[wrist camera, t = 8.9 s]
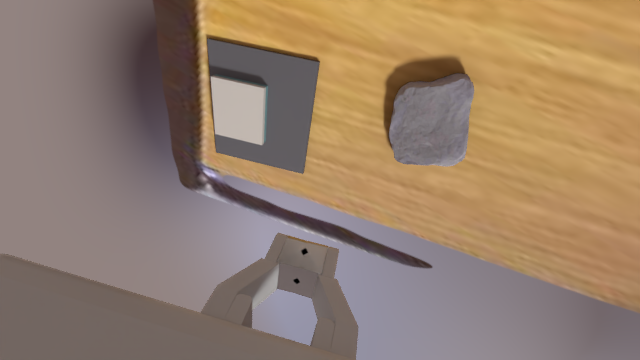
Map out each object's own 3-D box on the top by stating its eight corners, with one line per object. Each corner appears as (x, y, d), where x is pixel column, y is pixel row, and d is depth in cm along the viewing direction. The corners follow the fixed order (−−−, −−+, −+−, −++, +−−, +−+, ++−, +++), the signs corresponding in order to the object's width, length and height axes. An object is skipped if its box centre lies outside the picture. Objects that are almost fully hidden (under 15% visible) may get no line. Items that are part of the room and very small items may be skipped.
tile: (267, 85, 38) (216, 74, 38) (263, 88, 36) (210, 76, 37) (265, 141, 43) (220, 130, 43) (261, 145, 41) (215, 133, 42)
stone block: (394, 155, 42) (464, 156, 38) (388, 168, 38) (465, 171, 34) (391, 78, 37) (473, 69, 32) (385, 85, 33) (476, 76, 29)
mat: (209, 38, 36) (207, 38, 36) (319, 61, 35) (318, 62, 35) (217, 150, 47) (216, 152, 46) (303, 172, 45) (302, 173, 45)
